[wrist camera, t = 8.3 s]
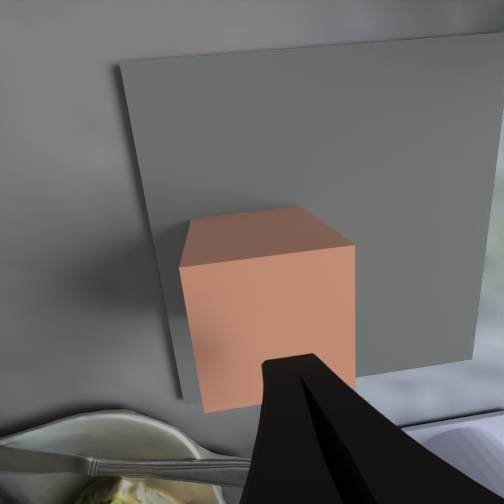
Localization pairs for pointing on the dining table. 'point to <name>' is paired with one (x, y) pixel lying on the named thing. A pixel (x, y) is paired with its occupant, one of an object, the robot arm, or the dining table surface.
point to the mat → (335, 174)
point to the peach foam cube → (266, 299)
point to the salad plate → (113, 463)
